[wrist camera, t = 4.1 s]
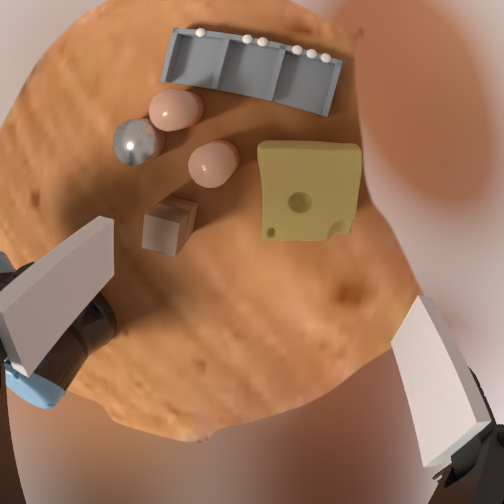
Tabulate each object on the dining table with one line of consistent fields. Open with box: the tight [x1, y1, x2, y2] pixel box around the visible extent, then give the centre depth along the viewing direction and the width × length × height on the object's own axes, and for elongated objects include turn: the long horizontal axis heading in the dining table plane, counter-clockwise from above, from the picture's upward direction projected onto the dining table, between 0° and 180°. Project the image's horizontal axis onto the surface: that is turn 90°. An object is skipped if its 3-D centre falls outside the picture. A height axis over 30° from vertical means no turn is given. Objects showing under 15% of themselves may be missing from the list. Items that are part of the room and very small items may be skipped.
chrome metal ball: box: [113, 118, 165, 166], centre depth 36 cm, size 6×6×4 cm
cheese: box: [257, 140, 362, 241], centre depth 34 cm, size 10×11×10 cm
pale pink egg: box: [149, 89, 204, 131], centre depth 33 cm, size 5×5×6 cm
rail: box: [160, 28, 343, 117], centre depth 31 cm, size 21×8×3 cm, turn 77°
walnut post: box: [142, 195, 198, 257], centre depth 39 cm, size 4×4×8 cm
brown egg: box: [188, 140, 240, 188], centre depth 36 cm, size 5×5×6 cm
